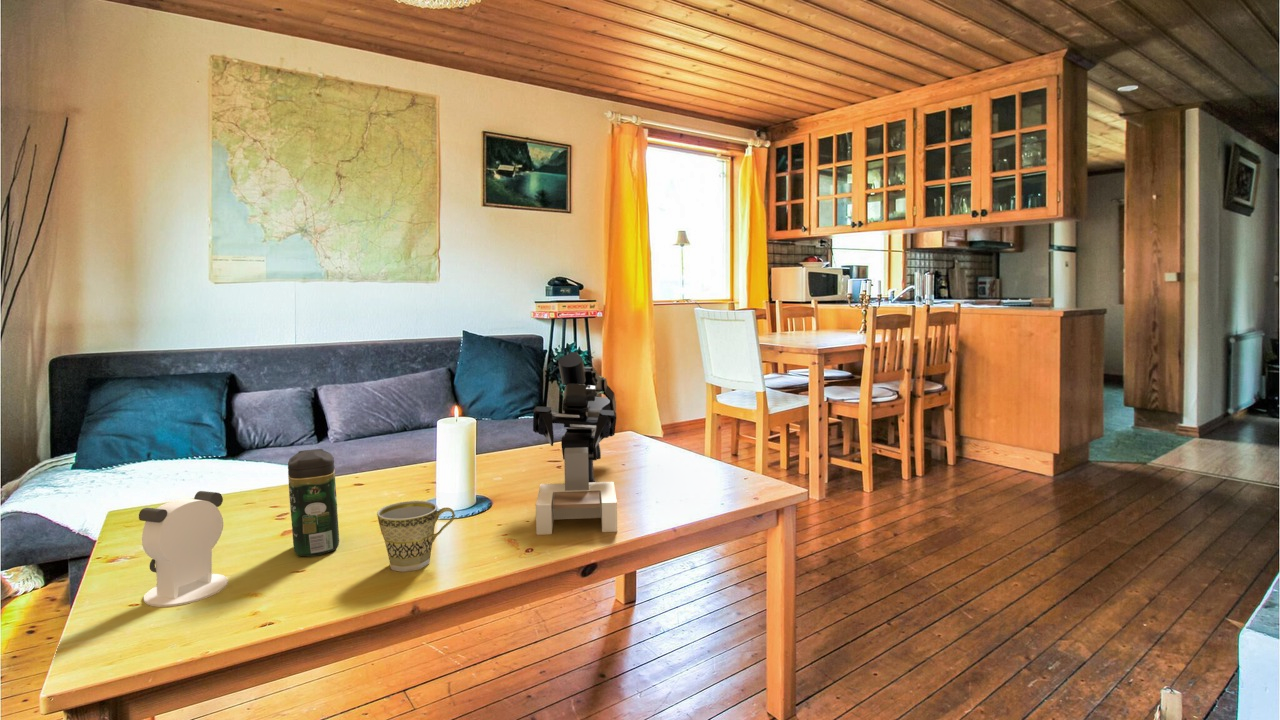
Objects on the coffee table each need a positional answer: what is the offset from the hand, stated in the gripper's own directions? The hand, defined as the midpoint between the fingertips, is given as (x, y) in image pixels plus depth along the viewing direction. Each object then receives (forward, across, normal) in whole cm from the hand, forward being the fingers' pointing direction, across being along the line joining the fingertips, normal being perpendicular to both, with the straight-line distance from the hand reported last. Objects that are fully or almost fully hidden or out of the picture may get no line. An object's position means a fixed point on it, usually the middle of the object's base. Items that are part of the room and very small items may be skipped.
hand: (573, 445), depth 146 cm
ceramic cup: (+31, -26, +3) cm, 41 cm away
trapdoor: (+14, +1, +3) cm, 14 cm away
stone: (+5, +1, +2) cm, 5 cm away
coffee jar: (+24, -47, +8) cm, 53 cm away
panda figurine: (+38, -61, +2) cm, 72 cm away
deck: (+13, +2, +9) cm, 16 cm away
